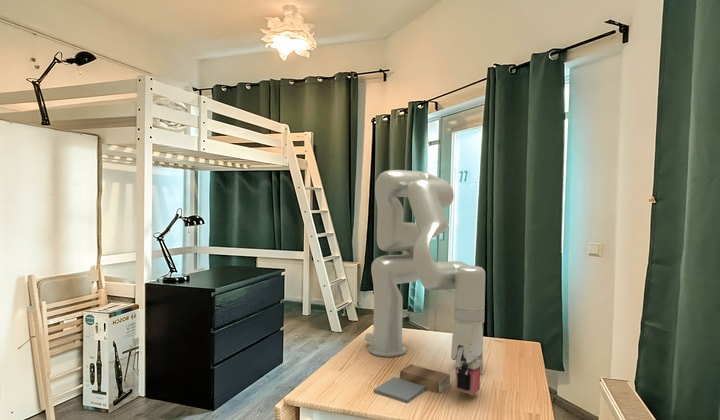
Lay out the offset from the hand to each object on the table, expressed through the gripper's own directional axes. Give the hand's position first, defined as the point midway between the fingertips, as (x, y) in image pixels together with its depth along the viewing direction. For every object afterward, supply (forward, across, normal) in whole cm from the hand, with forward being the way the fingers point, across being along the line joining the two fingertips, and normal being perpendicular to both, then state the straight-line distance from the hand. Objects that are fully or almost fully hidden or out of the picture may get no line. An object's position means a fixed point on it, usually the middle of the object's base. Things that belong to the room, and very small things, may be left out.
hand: (467, 384), depth 112 cm
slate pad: (+3, +8, -15) cm, 17 cm away
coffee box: (+3, -18, -6) cm, 19 cm away
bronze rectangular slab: (+3, 0, -12) cm, 13 cm away
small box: (+2, 0, 0) cm, 2 cm away
